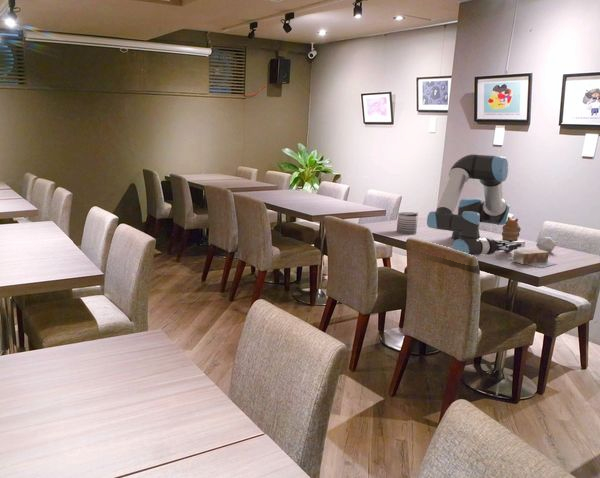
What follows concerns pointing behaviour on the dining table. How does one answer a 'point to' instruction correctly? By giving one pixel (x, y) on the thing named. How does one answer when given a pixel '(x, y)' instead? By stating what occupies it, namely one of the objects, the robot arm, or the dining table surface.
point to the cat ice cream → (511, 230)
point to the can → (407, 223)
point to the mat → (537, 263)
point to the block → (530, 256)
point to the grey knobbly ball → (546, 244)
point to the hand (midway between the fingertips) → (523, 244)
